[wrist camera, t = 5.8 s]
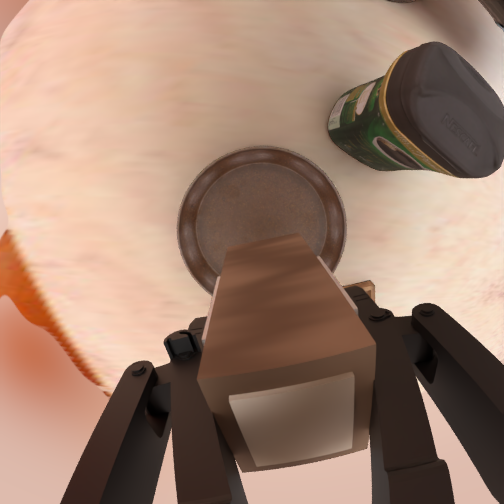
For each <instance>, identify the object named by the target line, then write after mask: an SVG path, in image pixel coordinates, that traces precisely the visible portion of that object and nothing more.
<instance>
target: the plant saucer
mask: <svg viewBox="0 0 504 504" xmlns="http://www.w3.org/2000/svg"><path fill="white" fill-rule="evenodd" d="M294 233H300V235H301V236H302V237H303V239H304V240H305V242H306V243H307V244H308V246H309V247H310V248H311V250H312V251H313V253H314V254H315V255H316V257H317V256H320V257H321V259H322V260H323V261H324V263H325V264H326V265H327V267H328V268H329V269H330V271H331V272H332V273H334V271H335V269H336V268H337V266H338V264H339V262H340V259H341V257H342V254H343V251H344V247H345V242H346V234H347V223H346V214H345V210H344V206H343V202H342V200H341V197H340V195H339V193H338V191H337V189H336V187H335V186H334V184H333V183H332V181H331V180H330V179H329V177H328V176H327V175H326V174H325V173H324V172H323V171H322V170H321V169H320V168H319V167H318V166H317V165H315V164H314V163H313V162H311V161H310V160H309V159H307V158H305V157H303V156H301V155H300V154H297V153H295V152H292V151H289V150H286V149H282V148H277V147H268V146H259V147H249V148H244V149H240V150H236V151H233V152H231V153H228V154H226V155H224V156H222V157H220V158H218V159H217V160H215V161H214V162H212V163H211V164H210V165H208V166H207V167H206V168H205V169H203V170H202V171H201V172H200V173H199V175H198V176H197V177H196V178H195V179H194V181H193V182H192V183H191V185H190V186H189V188H188V190H187V191H186V193H185V195H184V198H183V200H182V203H181V206H180V209H179V213H178V221H177V239H178V245H179V249H180V252H181V256H182V258H183V261H184V263H185V265H186V267H187V269H188V271H189V272H190V274H191V275H192V277H193V278H194V279H195V281H196V282H197V283H198V284H199V285H200V286H201V287H202V288H203V289H204V290H205V291H206V292H208V293H209V294H210V295H212V296H213V292H214V289H215V285H216V281H217V277H219V276H221V272H222V268H223V264H224V260H225V255H226V251H227V247H230V246H235V245H240V244H245V243H249V242H254V241H259V240H264V239H269V238H274V237H279V236H284V235H289V234H294Z"/></svg>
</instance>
